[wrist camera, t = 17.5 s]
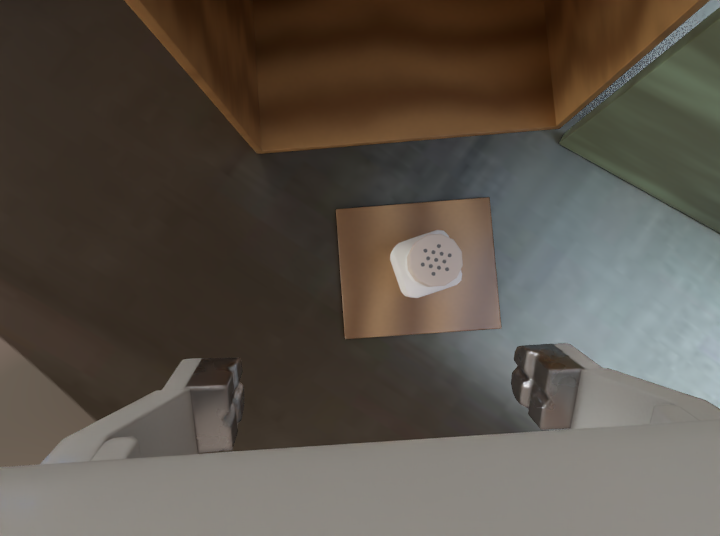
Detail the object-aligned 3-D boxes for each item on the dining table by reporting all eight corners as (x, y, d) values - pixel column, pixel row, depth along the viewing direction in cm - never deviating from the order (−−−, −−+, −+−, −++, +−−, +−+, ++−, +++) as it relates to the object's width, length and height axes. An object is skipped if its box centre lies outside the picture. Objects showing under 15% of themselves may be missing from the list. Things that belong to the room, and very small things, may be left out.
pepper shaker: (432, 238, 32) (457, 217, 23) (448, 283, 32) (479, 281, 23) (387, 253, 33) (393, 238, 23) (402, 298, 32) (415, 302, 23)
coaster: (345, 338, 33) (344, 339, 32) (336, 210, 33) (335, 209, 33) (499, 327, 32) (501, 328, 32) (487, 198, 33) (489, 197, 32)
